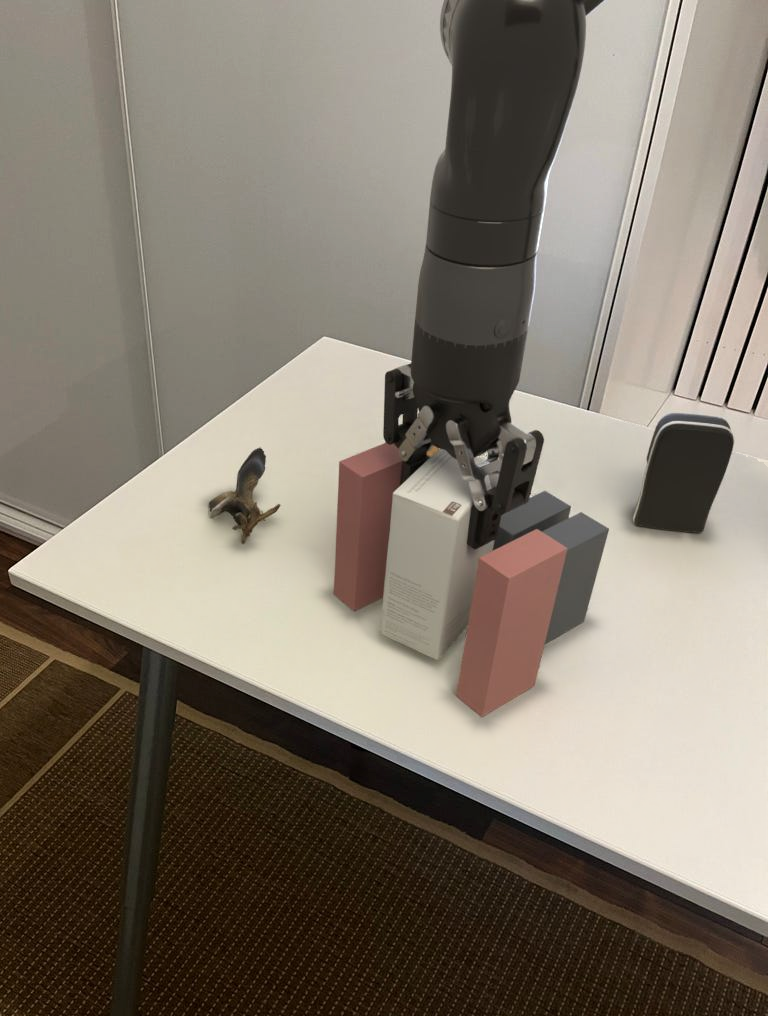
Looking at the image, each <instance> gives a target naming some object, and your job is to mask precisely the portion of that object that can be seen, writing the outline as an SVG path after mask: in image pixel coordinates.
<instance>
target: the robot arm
mask: <svg viewBox="0 0 768 1016" xmlns="http://www.w3.org/2000/svg"><path fill="white" fill-rule="evenodd" d="M604 2H606V0H443V2H442V6H441V11H440V18H439V34H440V41H441V45H442V49H443V51H444V53H445V56H446V57H447V60H448V62H449V63H450V65H451V84H450V85H451V86H450V99H449V109H448V119H447V126H446V127H447V128H446V137H445V148H444V150H442V153H440V155H439V156H438V159H437V162H436V164H435V167H434V172H433V175H432V181H431V186H430V187H431V188H430V196H429V206H428V217H427V227H426V228H427V229H426V240H425V247H424V253H423V258H422V263H421V266H420V271H419V275H418V282H417V293H416V306H415V315H414V327H413V336H412V348H411V349H412V350H411V360H410V363H407V364H404V365H401V366H398V367H395V368H394V369H391V370H388V371H386V372H385V375H384V393H383V394H384V396H383V398H384V399H383V428H382V432H383V433H382V434H383V435H382V436H383V440H384V443H387V444H389V445H391V444H395V446H396V447H397V448H398V455H399V458H400V459H401V460H402V467H401V478H400V479H401V480H400V486H401V485H402V484H403V483H404V482H405V481H406V480H407V479H408V478H409V477H410V476H411V475H412V474H413V473H414V472H415V471H417V470H418V469H419V468H420V467H421V466H422V465H423V464H424V463H425V462H426V461H427V460H428V459H429V458H430V456H428V455H427V452H429V451H430V450H431V449H432V448H433V446H435V447H437V448H439V449H443V450H446V451H447V452H448V453H449V454H450V455H451V456H452V457H453V458H455V459H456V460H457V462H458V465H459V469H460V473H461V477H462V479H463V480H465V481H468V483H469V486H470V490H471V494H472V497H473V501H474V505H473V506H472V508H471V514H470V521H469V529H468V537H467V545H469V546H470V547H471V548H473V549H478V548H480V547H482V546H484V545H486V544H488V543H489V542H491V541H493V540H495V539H496V537H497V536H498V532H499V526H500V525H499V524H500V521H501V515H503V514H505V513H507V512H509V511H511V510H513V509H515V508H517V507H520V506H522V505H524V504H526V503H527V502H528V501H529V498H530V497H531V493H532V491H533V490H532V489H533V486H534V483H535V478H536V474H537V471H538V466H539V463H540V459H541V455H542V452H543V447H544V443H545V437H544V435H543V433H542V432H541V431H540V430H538V429H534V430H531V431H529V432H525V431H524V430H522V429H521V428H519V427H518V426H515V425H514V424H512V417H511V411H510V401H511V399H512V396H513V395H514V393H515V391H516V389H517V387H518V385H519V382H520V379H521V373H522V366H523V363H524V362H523V361H524V355H525V350H526V344H527V339H528V333H529V327H530V321H531V315H532V309H533V303H534V299H535V291H536V280H537V257H538V249H539V245H540V238H541V231H542V228H543V227H542V226H543V220H544V216H545V215H544V214H545V208H546V202H547V193H548V182H549V176H550V172H551V170H552V167H553V164H554V162H555V160H556V156H557V154H558V151H559V149H560V146H561V144H562V140H563V136H564V133H565V130H566V126H567V123H568V121H569V118H570V115H571V111H572V108H573V105H574V101H575V98H576V94H577V91H578V87H579V82H580V79H581V73H582V69H583V63H584V56H585V48H586V38H587V16H589V15H590V14H592V13H593V12H594V11H595V10H596V9H597V8H598V7H600V6H601V5H602V4H603V3H604ZM401 415H402V423H400V424H399V420H400V417H401ZM486 453H487V458H486V459H485V460H486V461H484V462H482V463H480V464H478V465H476V464H475V460H474V458H475V457H478V458H479V457H480V456H482V455H484V454H486ZM486 475H488V476H489V480H490V483H491V487H492V488H491V489H489V490H487V487H486V483H485V476H486Z"/></svg>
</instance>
